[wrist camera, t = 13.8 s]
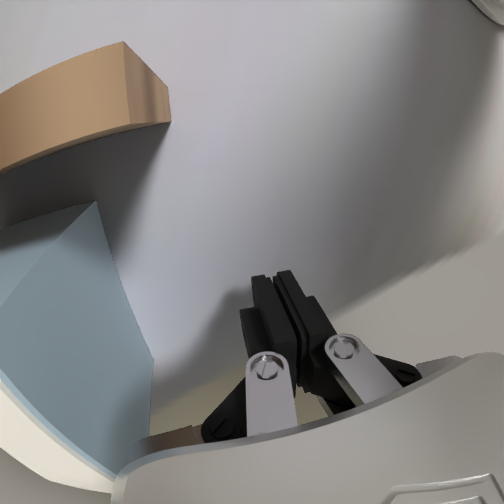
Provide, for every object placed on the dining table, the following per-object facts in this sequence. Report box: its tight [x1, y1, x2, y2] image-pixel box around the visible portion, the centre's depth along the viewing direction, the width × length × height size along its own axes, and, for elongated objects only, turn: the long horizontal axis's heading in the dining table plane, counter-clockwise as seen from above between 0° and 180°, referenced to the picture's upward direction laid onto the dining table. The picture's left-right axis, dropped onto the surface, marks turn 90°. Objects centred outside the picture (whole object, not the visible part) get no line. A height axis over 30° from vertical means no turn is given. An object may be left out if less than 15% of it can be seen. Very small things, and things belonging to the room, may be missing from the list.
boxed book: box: [0, 201, 154, 493], centre depth 9 cm, size 6×10×9 cm, turn 5°
